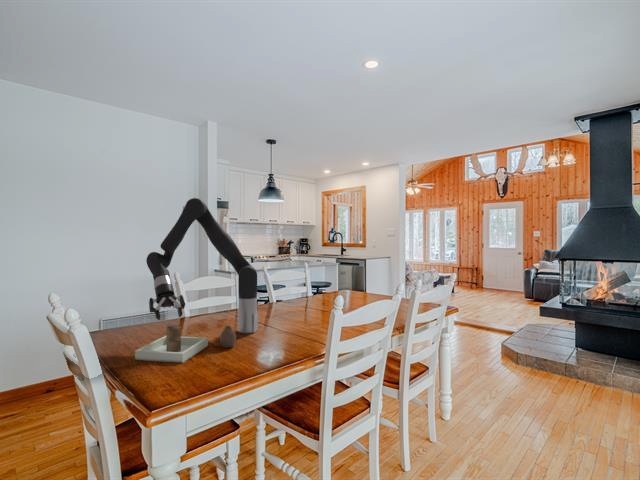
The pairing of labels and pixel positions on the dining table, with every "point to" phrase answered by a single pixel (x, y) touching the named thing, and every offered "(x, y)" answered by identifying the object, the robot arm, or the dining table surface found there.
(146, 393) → the dining table surface
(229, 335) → the grey rounded egg shape
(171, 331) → the walnut block
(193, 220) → the robot arm
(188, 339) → the sage tray
